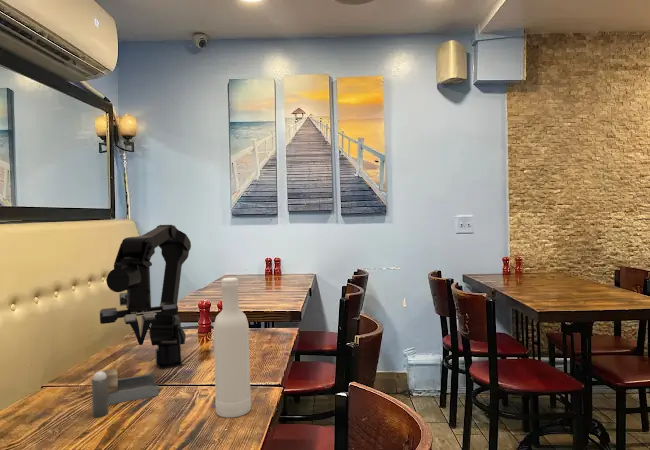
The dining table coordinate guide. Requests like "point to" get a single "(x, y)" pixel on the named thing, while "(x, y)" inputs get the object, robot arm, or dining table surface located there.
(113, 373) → the block
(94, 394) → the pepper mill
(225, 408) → the bottle
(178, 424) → the dining table surface
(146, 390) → the grey open tray
